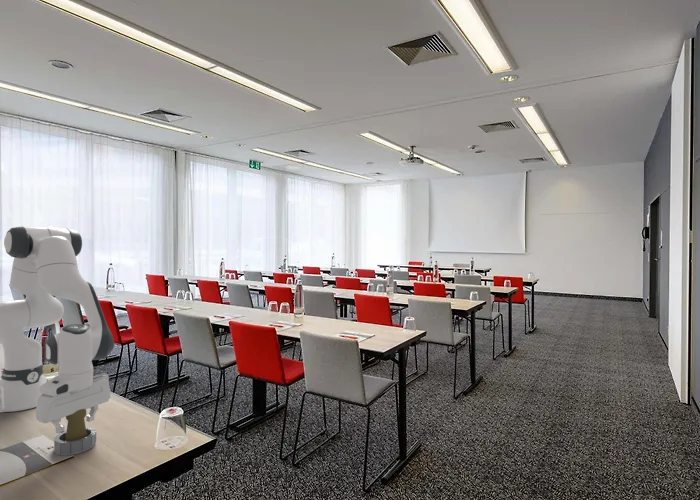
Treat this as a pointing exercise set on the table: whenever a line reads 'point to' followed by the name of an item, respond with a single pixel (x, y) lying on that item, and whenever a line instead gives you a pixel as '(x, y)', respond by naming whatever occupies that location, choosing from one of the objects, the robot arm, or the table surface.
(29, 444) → the table surface
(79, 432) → the cork
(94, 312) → the robot arm
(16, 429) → the table surface
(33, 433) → the table surface
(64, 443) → the faceted grey ring
